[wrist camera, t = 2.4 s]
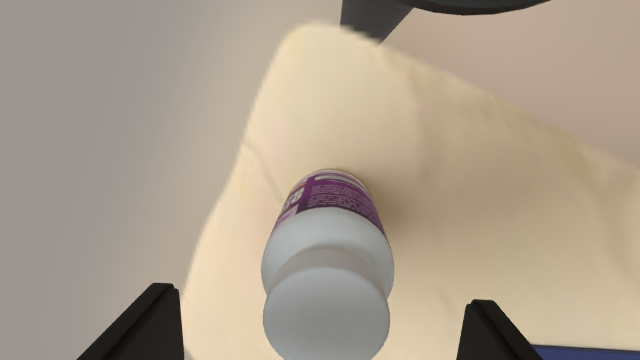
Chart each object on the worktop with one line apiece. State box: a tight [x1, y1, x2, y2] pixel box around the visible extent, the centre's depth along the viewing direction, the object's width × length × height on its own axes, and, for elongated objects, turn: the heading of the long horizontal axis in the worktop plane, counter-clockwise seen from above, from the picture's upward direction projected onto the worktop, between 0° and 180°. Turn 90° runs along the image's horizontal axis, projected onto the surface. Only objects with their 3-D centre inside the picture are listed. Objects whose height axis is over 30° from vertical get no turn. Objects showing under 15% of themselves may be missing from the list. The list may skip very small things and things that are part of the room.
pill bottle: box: [261, 170, 394, 360], centre depth 14 cm, size 5×5×10 cm
